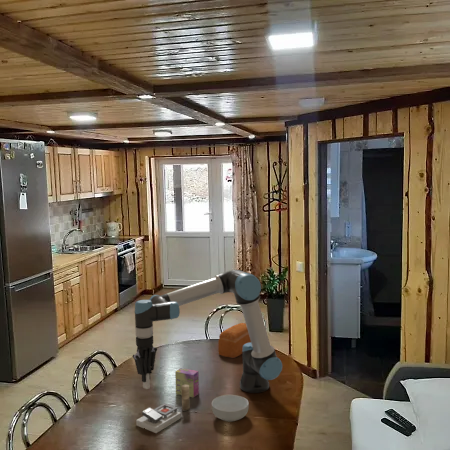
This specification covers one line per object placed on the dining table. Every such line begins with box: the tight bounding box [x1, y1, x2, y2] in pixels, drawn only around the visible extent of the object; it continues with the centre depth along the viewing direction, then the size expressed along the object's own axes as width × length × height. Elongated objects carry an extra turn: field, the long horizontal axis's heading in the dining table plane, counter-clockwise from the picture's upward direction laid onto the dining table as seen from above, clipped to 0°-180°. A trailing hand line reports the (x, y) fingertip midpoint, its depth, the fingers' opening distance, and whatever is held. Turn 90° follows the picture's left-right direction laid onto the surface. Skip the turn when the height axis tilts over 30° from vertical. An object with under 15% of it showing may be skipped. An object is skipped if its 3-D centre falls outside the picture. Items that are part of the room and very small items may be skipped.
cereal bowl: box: [211, 394, 250, 422], centre depth 217 cm, size 17×17×7 cm
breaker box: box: [136, 403, 182, 434], centre depth 215 cm, size 12×16×4 cm
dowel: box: [181, 385, 191, 411], centre depth 226 cm, size 4×4×11 cm
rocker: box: [141, 407, 163, 423], centre depth 212 cm, size 8×4×2 cm, turn 54°
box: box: [174, 367, 200, 398], centre depth 242 cm, size 10×6×12 cm, turn 65°
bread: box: [217, 322, 251, 359], centre depth 303 cm, size 14×26×16 cm, turn 146°
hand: (146, 387), depth 212 cm, fingers closed
